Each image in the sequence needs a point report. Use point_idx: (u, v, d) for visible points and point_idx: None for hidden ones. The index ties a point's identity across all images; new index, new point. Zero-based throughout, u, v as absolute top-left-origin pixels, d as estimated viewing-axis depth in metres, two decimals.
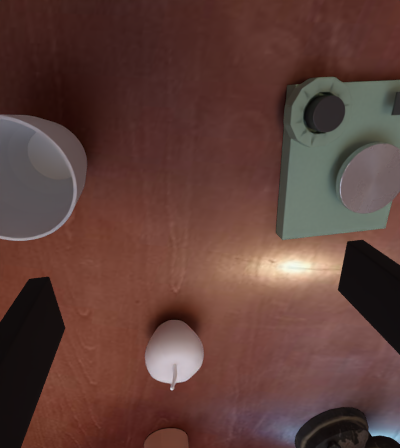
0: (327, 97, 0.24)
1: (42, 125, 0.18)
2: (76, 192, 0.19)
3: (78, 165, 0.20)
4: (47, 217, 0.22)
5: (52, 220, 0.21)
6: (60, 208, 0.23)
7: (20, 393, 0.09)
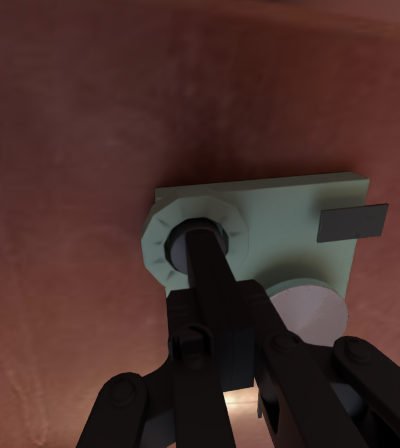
0: (190, 230, 0.14)
1: None
2: None
3: None
4: None
5: None
6: None
7: None
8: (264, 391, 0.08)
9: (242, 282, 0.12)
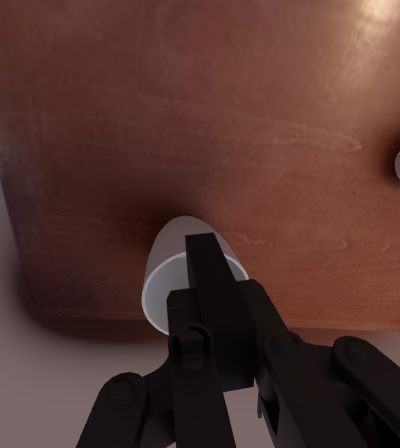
0: None
1: (153, 260, 0.21)
2: None
3: None
4: (235, 268, 0.24)
5: (238, 268, 0.23)
6: None
7: None
8: (264, 391, 0.08)
9: (242, 282, 0.12)
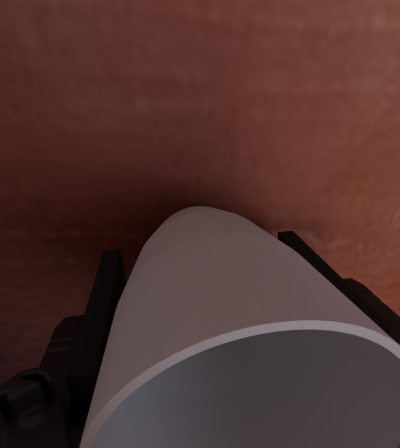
0: None
1: (112, 349, 0.07)
2: (320, 318, 0.05)
3: (223, 272, 0.07)
4: None
5: None
6: None
7: None
8: None
9: None
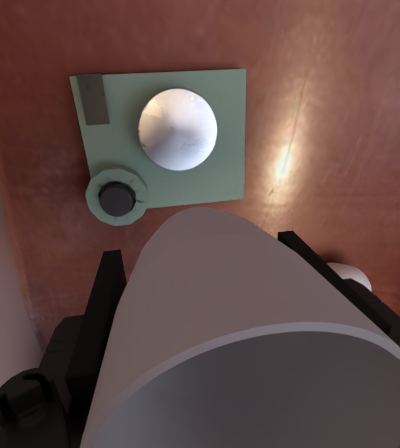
0: (102, 207, 0.27)
1: (112, 350, 0.07)
2: (320, 320, 0.05)
3: (223, 273, 0.07)
4: None
5: None
6: None
7: None
8: None
9: None
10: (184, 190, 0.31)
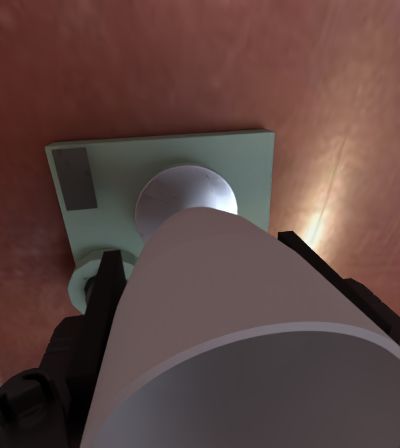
0: None
1: (112, 350, 0.07)
2: (321, 319, 0.05)
3: (223, 273, 0.07)
4: None
5: None
6: None
7: None
8: None
9: None
10: None
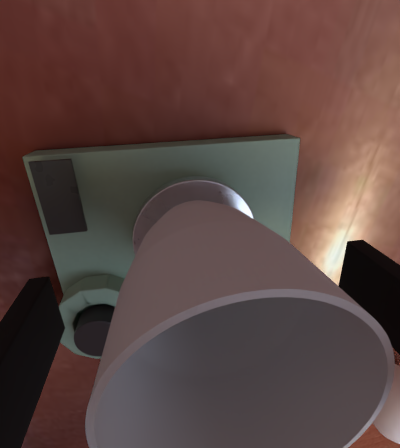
0: (77, 346, 0.18)
1: (116, 321, 0.08)
2: (298, 288, 0.06)
3: (216, 252, 0.07)
4: (321, 307, 0.10)
5: (338, 311, 0.09)
6: None
7: (20, 392, 0.09)
8: None
9: None
10: None
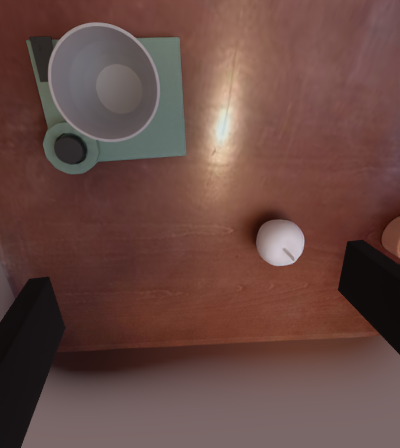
0: (56, 155, 0.32)
1: None
2: (110, 25, 0.20)
3: None
4: (153, 79, 0.24)
5: (151, 69, 0.23)
6: (149, 71, 0.25)
7: (20, 392, 0.09)
8: None
9: None
10: (132, 145, 0.35)
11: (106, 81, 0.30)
